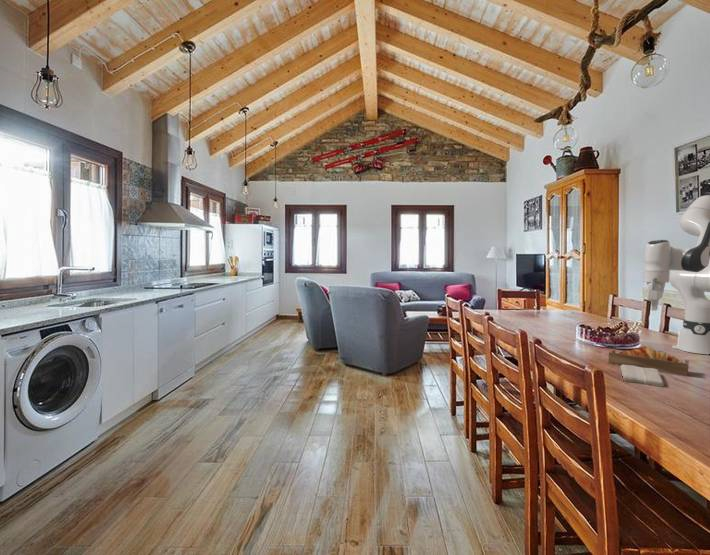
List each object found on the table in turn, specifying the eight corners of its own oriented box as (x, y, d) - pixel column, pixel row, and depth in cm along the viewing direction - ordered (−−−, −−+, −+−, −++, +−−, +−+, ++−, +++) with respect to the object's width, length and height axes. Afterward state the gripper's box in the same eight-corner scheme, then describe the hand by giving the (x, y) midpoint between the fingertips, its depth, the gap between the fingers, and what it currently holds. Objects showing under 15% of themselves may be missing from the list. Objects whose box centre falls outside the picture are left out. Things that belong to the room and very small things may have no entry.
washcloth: (657, 375, 144) (657, 367, 144) (664, 389, 129) (665, 380, 128) (619, 369, 150) (619, 362, 150) (622, 382, 135) (622, 374, 135)
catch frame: (612, 359, 163) (612, 349, 163) (688, 371, 146) (688, 360, 146) (608, 363, 157) (608, 352, 157) (687, 376, 141) (687, 364, 140)
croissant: (680, 373, 156) (680, 354, 158) (685, 367, 148) (685, 347, 151) (617, 364, 167) (618, 346, 170) (619, 358, 159) (620, 340, 162)
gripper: (663, 279, 153) (661, 313, 154) (667, 277, 168) (665, 308, 169) (643, 278, 158) (642, 311, 159) (649, 276, 173) (647, 307, 174)
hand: (654, 310), depth 164 cm, fingers closed
